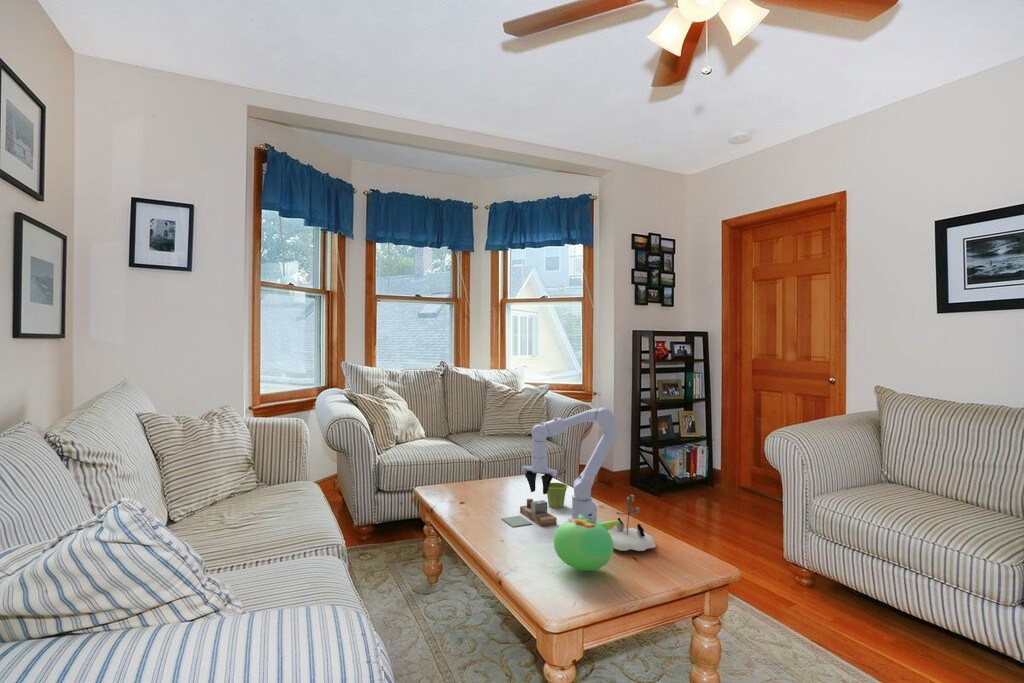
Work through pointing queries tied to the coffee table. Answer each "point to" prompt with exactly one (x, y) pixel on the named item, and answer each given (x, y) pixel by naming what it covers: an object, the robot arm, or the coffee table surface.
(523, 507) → the plane body
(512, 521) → the mat
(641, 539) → the figurine
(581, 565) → the round green toy
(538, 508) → the grey rectangular block
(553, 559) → the coffee table surface
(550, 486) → the plant pot
